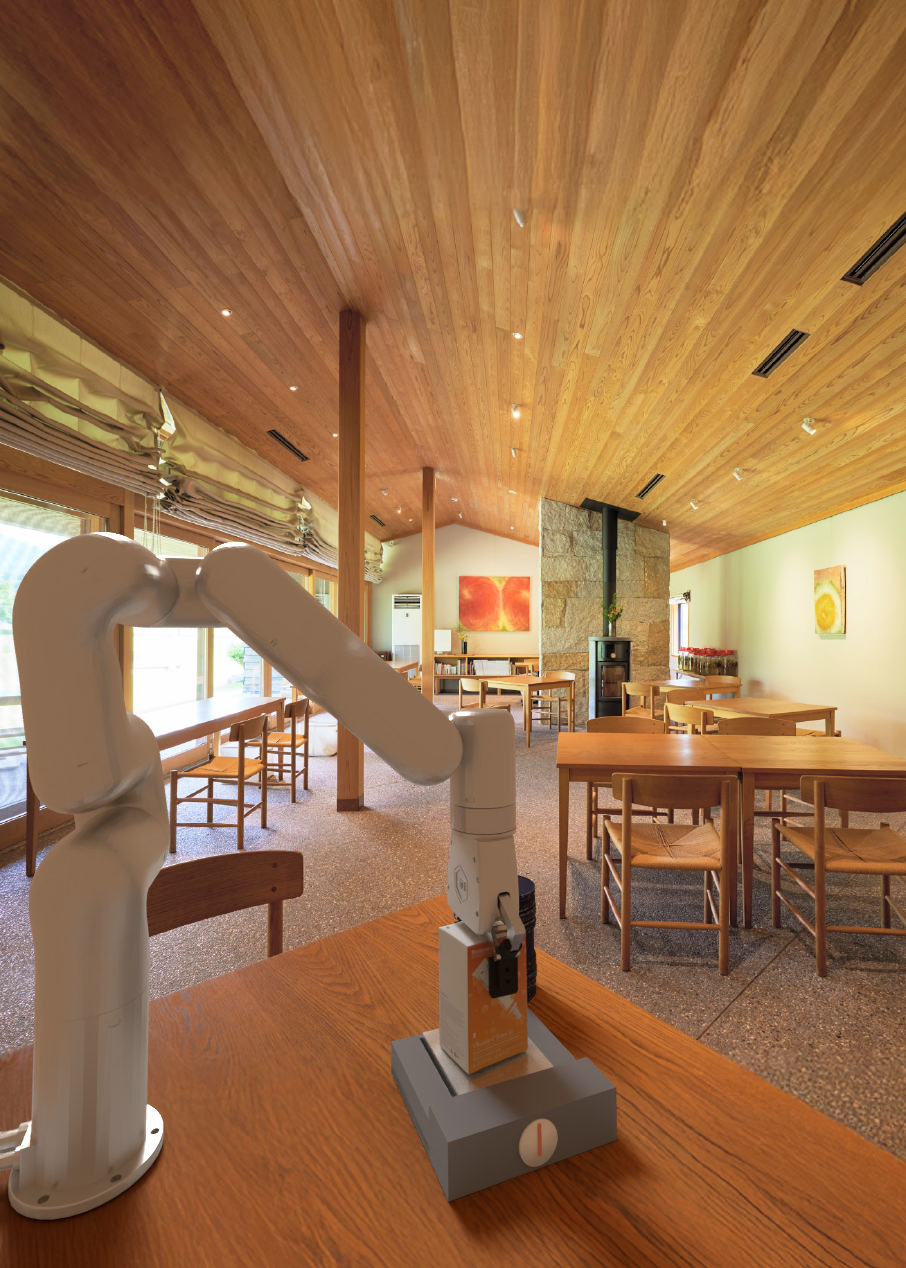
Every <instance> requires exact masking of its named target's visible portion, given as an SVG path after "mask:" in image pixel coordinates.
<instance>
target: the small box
mask: <svg viewBox="0 0 906 1268" xmlns="http://www.w3.org/2000/svg"><path fill="white" fill-rule="evenodd" d="M502 924H504V923H502V922H501V921H496V922H494V924H493V926H497V925H502ZM437 930H438V1011H439V1012H438V1013H439V1014H438V1017H439V1018H438V1023H439V1025H438V1029H439V1035H440V1046H441V1047H442V1048H443V1049H444V1050H445V1051H446V1052H447V1053H448V1054H449V1055H450V1056H451V1057H452V1058H453V1059H454V1061H455V1062H456V1063H457V1064H458V1065H459V1066H460V1067H462V1068H463V1069H464V1070H465V1071H466V1072H467V1073H468V1074H471V1073H473V1072H475V1071H478V1070H480V1069H482V1068H484V1067H487V1066H489V1065H492V1064H494V1063H496V1062H499V1061H501V1060H504V1059H506V1058H509V1057H511V1056H513V1055H516V1054H518V1053H521V1052H525V1051H527V1050H528V1026H527V1007H528V1004H527V971H526V930H525V934H524V937H523V941H522V948H521V950H520V956H519V957H518V991H517V993H515V994H511V995H507V996H503V997H499V998H494V999H493V998H491V996H490V995H489V970H488V957H492V954H491V950H490V946H489V942H488V938H487V934H486V933H485V934H484V935H478V934H476V933H475V932H473V931H472V930H471V929H470V928H469V927H468V926H467V925H466V924H465V923H464V922H463V921H460V922H458V923H454V922H453V923H451V924H450V923H449V924H447V925H444V926H439V927H438V929H437ZM496 937H497V941H498V945H500V943H501V942H502V941H503V939H506V938H507V936H506V932H505V933H500V934H496Z"/></svg>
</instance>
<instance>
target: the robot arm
mask: <svg viewBox="0 0 906 1268" xmlns="http://www.w3.org/2000/svg"><path fill="white" fill-rule="evenodd" d="M11 617H12V619H11V624H12V640H13V647H14V654H15V658H16V659H15V660H16V666H17V667H16V668H17V672H18V681H19V689H20V692H19V693H20V706H21V714H22V722H23V731H24V739H25V740H24V741H25V747H26V755H27V764H28V765H27V767H28V775H29V780H30V784H31V787H32V790H33V793H34V795H35V796H36V798H37V799H38V801H39V802H40V803H41V804H43V805H44V806H45V807H46V808H47V809H49V810H50V811H53V812H56V813H57V814H63V815H73V819H74V825H75V829H74V830H72V831H71V832H69V833H68V834H66V835H65V836H64V837H63V838H61V839H60V840H58V842H56V844H55V845H53V846H52V847H51V848H50V849H49V851H47V853H46V854H45V855H44V857H43V859H42V860H41V862H39V864H38V866H37V868H36V869H35V872H34V875H33V877H32V880H31V883H30V887H29V892H28V915H29V916H28V917H29V924H30V930H31V936H32V942H33V954H34V1002H33V1003H34V1006H33V1007H34V1020H33V1021H34V1023H33V1052H32V1053H33V1057H32V1087H31V1092H32V1093H31V1118H30V1120H28V1121H26V1122H25V1121H24V1122H21V1123H20V1124H19V1126H18V1127H17V1128H14V1129H9V1130H6V1131H0V1172H2V1171H7V1170H10V1169H11V1171H10V1173H9V1179H8V1185H7V1187H8V1190H7V1192H8V1201H9V1202H10V1206H11V1207H12V1208H13V1209H14V1210H15V1211H16V1212H17V1213H18V1214H20V1215H21V1216H25V1217H26V1218H30V1219H36V1220H56V1219H57V1220H59V1219H62V1218H69V1217H73V1216H76V1215H80V1214H82V1213H85V1212H88V1211H91V1210H93V1209H95V1208H97V1207H100V1206H102V1205H104V1204H105V1203H107V1202H109V1201H111V1200H113V1199H114V1198H117V1196H119V1195H121V1194H122V1193H123V1192H124V1191H126V1190H128V1189H130V1188H131V1186H132V1185H134V1184H135V1183H136V1182H137V1181H138V1180H139V1179H140V1178H142V1176H144V1175H145V1174H146V1173H147V1171H148V1170H149V1168H151V1167H152V1166H153V1163H154V1162H155V1160H156V1159H157V1158H158V1156H159V1155H160V1151H161V1150H162V1146H163V1144H164V1138H165V1137H164V1136H165V1135H164V1134H165V1131H164V1130H165V1124H164V1120H163V1116H162V1115H161V1113H160V1112H159V1111H158V1110H157V1109H155V1108H154V1107H153V1106H151V1105H150V1104H148V1081H149V1080H148V1077H149V1076H148V1075H149V1033H150V1032H149V1025H150V1021H149V1020H150V968H151V967H150V965H151V963H150V960H151V957H150V955H151V954H150V949H151V948H150V935H149V926H148V925H149V924H148V917H147V899H148V897H147V896H148V892H149V888H150V887H151V885H152V884H153V883H154V881H155V879H156V877H157V876H158V874H159V873H160V872H161V870H162V868H163V867H164V865H165V863H166V861H167V858H168V856H169V852H170V848H171V827H170V817H169V810H168V802H167V797H166V795H167V794H166V787H165V781H164V771H163V765H162V758H161V753H160V752H161V751H160V747H159V744H158V740H157V738H156V736H155V733H154V731H153V729H152V728H151V727H150V726H149V724H147V722H146V721H144V720H143V718H141V717H140V716H137V715H136V714H134V713H132V712H129V711H127V708H126V704H125V703H126V701H125V697H124V696H125V695H124V690H123V689H124V688H123V687H124V686H123V675H122V669H121V665H120V660H119V657H118V654H117V650H116V646H115V643H114V642H115V641H114V632H115V627H116V625H117V624H119V625H122V626H126V627H133V628H146V629H147V628H148V629H149V628H150V629H151V628H153V629H155V628H158V629H159V628H161V629H163V628H165V629H166V628H167V629H168V628H172V629H173V628H175V629H179V628H180V629H182V628H183V629H187V628H188V629H220V628H221V629H222V628H223V629H228V630H229V631H230V632H232V633H233V634H234V635H235V636H236V637H237V638H238V639H240V641H243V643H245V644H246V645H247V646H248V647H249V648H250V649H251V650H252V651H253V652H255V653H256V654H257V655H258V656H259V657H260V658H262V660H264V661H265V662H266V663H267V664H269V665H270V666H271V667H272V668H273V669H274V670H276V672H278V674H280V675H281V676H282V677H283V678H284V679H285V680H287V682H289V683H290V684H291V685H292V686H294V688H296V689H297V691H299V692H300V693H301V695H303V696H304V697H306V698H307V699H308V700H309V701H311V702H312V703H314V704H315V705H318V707H320V708H322V709H323V710H324V711H325V712H327V713H328V714H329V715H331V716H332V717H333V718H334V719H336V720H337V721H338V722H339V723H340V724H341V725H342V726H343V727H344V728H345V729H347V730H348V731H349V732H350V733H351V734H352V735H354V736H355V737H356V739H358V740H359V741H361V743H363V744H364V745H365V746H366V747H367V748H368V749H370V751H372V752H373V753H374V754H375V755H377V757H378V758H379V759H381V760H382V761H383V762H384V763H385V764H387V766H389V767H390V768H391V769H392V770H393V771H394V772H396V773H397V775H399V776H400V777H401V778H402V779H404V780H405V781H407V782H408V783H410V784H412V785H416V786H419V787H433V786H438V785H440V784H442V783H444V782H447V780H449V825H450V826H449V828H450V830H449V832H450V837H449V839H450V840H449V846H448V847H449V849H448V862H447V865H448V866H447V888H446V889H447V891H446V892H447V893H446V895H447V899H446V900H447V904H448V906H449V909H451V911H452V915H453V919H454V922H453V924H454V923H458V922H460V921H463V922H464V923H465V924H466V925H467V926H468V927H469V928H470V929H471V930H472V931H473V932H475V933H476V934H478V935H484V934H485V933H486V934H487V938H488V942H489V946H490V950H491V954H492V957H488V970H489V995H490V996H491V998H493V999H494V998H499V997H503V996H507V995H511V994H515V993H517V991H518V957H519V956H520V950H521V948H522V941H523V937H524V934H525V927H524V925H523V923H522V921H521V919H520V917H519V889H518V875H519V873H518V863H517V853H516V844H515V837H514V835H515V834H516V833H517V789H516V787H517V786H516V785H517V784H516V783H517V781H516V779H517V778H516V772H517V771H516V726H515V725H516V724H515V718H514V716H513V714H512V713H511V712H509V711H508V710H506V709H502V708H494V707H493V708H490V707H473V708H471V707H470V708H464V709H459V710H445V709H443V710H442V709H439V707H438V706H436V705H435V704H434V703H433V702H432V701H431V700H430V699H428V698H427V696H425V695H424V694H423V693H422V692H421V691H420V690H419V689H417V687H415V686H414V685H413V684H412V683H410V681H408V680H407V679H406V678H405V677H404V676H403V675H402V674H400V673H399V672H398V671H397V670H395V669H394V667H393V666H392V665H390V664H389V663H388V662H386V661H385V660H384V659H383V658H381V656H380V655H378V654H377V653H376V652H375V651H374V650H373V649H372V648H371V647H370V646H369V645H368V644H367V643H366V642H365V641H364V640H363V639H361V638H360V637H359V636H358V635H357V634H356V633H355V632H354V631H353V630H351V629H350V628H349V626H347V625H346V624H345V623H344V622H342V620H340V619H339V618H338V617H337V616H335V614H333V613H332V612H331V611H330V610H329V609H328V608H327V607H326V606H324V605H323V604H322V602H320V601H319V600H318V599H317V598H316V597H314V596H313V595H312V593H310V592H309V591H308V590H307V589H306V588H304V586H302V585H301V584H300V583H299V582H298V581H297V580H296V579H295V578H293V577H292V575H290V573H288V572H287V571H286V570H285V569H284V568H283V567H282V566H281V565H279V564H278V563H277V562H276V561H275V560H274V559H273V558H272V557H270V556H269V555H268V554H267V553H265V552H264V551H263V550H261V549H260V548H258V547H256V546H254V545H252V544H249V543H246V542H241V541H232V542H227V543H223V544H220V545H218V546H217V547H215V548H213V549H211V550H210V551H209V552H208V553H207V554H205V556H203V557H194V556H193V557H190V556H173V555H171V556H170V555H156V554H155V553H154V552H152V551H151V550H149V549H148V548H146V547H145V546H144V545H142V544H141V543H140V542H137V541H136V540H133V539H131V538H129V537H127V536H124V535H122V534H118V533H117V534H116V533H113V532H99V531H97V532H96V531H95V532H88V533H83V534H78V535H76V536H73V537H69V538H68V539H66V540H63V541H61V542H59V543H58V544H56V545H55V546H53V547H51V548H50V549H48V550H47V551H46V552H45V553H43V554H42V555H41V556H40V557H39V558H37V560H36V561H35V562H34V563H32V565H31V566H30V568H29V569H28V570H27V571H26V573H25V575H24V576H23V577H22V579H21V581H20V583H19V585H18V588H17V590H16V593H15V597H14V601H13V605H12V616H11ZM496 921H501V922H502V923H504V924H502V925H497V926H493V924H494V922H496ZM505 932H506V936H507V938H506V939H503V941H502V942H501V943H500V945H498V941H497V937H496V934H500V933H505Z"/></svg>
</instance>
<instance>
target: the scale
mask: <svg viewBox="0 0 906 1268" xmlns="http://www.w3.org/2000/svg"><path fill="white" fill-rule="evenodd" d="M527 1026H528V1037H529V1038H530V1039H531V1040H532V1042H533V1043H534V1044H535V1045H536V1046H537V1047H538V1049H539V1050H540V1051H541V1052H542V1053H543V1054H544V1056H545V1057H546V1058H547V1059H548V1060H549V1061H550V1063H551V1064H552V1065H553V1066H554V1067H551V1068H548V1069H545V1070H541V1071H538V1072H535V1073H531V1074H528V1075H524V1076H521V1077H518V1078H514V1079H511V1080H508V1081H504V1082H501V1083H498V1084H494V1085H491V1086H488V1087H484V1088H481V1089H477V1090H474V1091H471V1092H467V1093H464V1094H461V1095H457V1096H454V1097H452V1096H451V1094H450V1092H449V1091H448V1089H447V1087H446V1085H445V1083H444V1082H443V1080H442V1078H441V1076H440V1074H439V1073H438V1071H437V1069H436V1067H435V1065H434V1064H433V1062H432V1060H431V1058H430V1056H429V1055H428V1053H427V1051H426V1049H425V1048H424V1046H423V1033H420V1034H416V1035H412V1036H407V1037H404V1038H400V1039H396V1040H392V1041H391V1042H390V1044H391V1045H390V1052H391V1056H390V1057H391V1058H390V1059H391V1060H390V1061H391V1062H390V1065H391V1067H390V1068H391V1070H390V1072H391V1073H390V1074H392V1078H393V1080H394V1082H395V1084H396V1087H397V1089H398V1091H399V1093H400V1096H401V1097H402V1099H403V1100H402V1101H403V1104H404V1105H405V1107H406V1109H407V1111H408V1114H409V1116H410V1119H411V1120H412V1123H413V1125H414V1127H415V1131H416V1132H417V1135H418V1136H419V1138H420V1140H421V1144H422V1146H423V1148H424V1150H425V1152H426V1154H427V1157H428V1159H429V1161H430V1164H431V1166H432V1168H433V1171H434V1172H435V1175H436V1177H437V1180H438V1182H439V1184H440V1186H441V1189H442V1190H443V1194H444V1195H445V1198H446V1200H447V1202H448V1203H449V1202H452V1201H454V1200H455V1201H456V1200H457V1199H460V1198H462V1197H465V1196H467V1195H468V1196H469V1195H471V1194H473V1193H474V1194H475V1193H476V1192H480V1191H482V1190H484V1189H487V1188H490V1187H493V1186H495V1185H498V1184H501V1183H504V1182H507V1181H508V1180H512V1179H514V1178H517V1177H520V1176H523V1175H525V1174H528V1173H531V1172H534V1171H536V1170H539V1169H542V1168H545V1167H547V1166H550V1165H553V1164H555V1163H559V1162H560V1161H564V1160H566V1159H569V1158H572V1157H574V1156H577V1155H579V1154H580V1155H581V1154H582V1153H585V1152H588V1151H591V1150H593V1149H597V1148H598V1147H601V1146H605V1145H607V1144H610V1143H612V1142H615V1141H617V1140H618V1114H617V1113H618V1109H617V1108H618V1107H617V1106H618V1104H617V1086H616V1085H614V1084H613V1082H612V1081H611V1080H610V1079H609V1078H608V1077H607V1076H606V1075H605V1074H604V1073H603V1072H602V1071H601V1070H600V1069H599V1068H598V1067H597V1066H596V1064H594V1062H593V1061H592V1060H590V1059H589V1057H588V1056H586V1057H582V1058H579V1059H576V1058H575V1056H574V1055H573V1054H572V1053H571V1052H570V1051H569V1050H568V1049H567V1048H566V1047H565V1045H564V1044H563V1043H562V1042H561V1041H560V1040H559V1039H558V1038H557V1037H556V1036H555V1035H554V1034H553V1033H552V1032H551V1031H550V1029H548V1027H547V1026H546V1025H545V1024H544V1023H543V1022H542V1021H541V1020H540V1018H538V1017H537V1016H536V1014H535V1013H533V1011H532V1010H531V1009H530V1008H529V1007H528V1006H527Z"/></svg>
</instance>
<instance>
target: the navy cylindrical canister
mask: <svg viewBox="0 0 906 1268" xmlns="http://www.w3.org/2000/svg"><path fill="white" fill-rule="evenodd" d="M518 889H519V917H520V919H521V921H522V923H523V925H524V927H525V930H526V971H527V1003H528V1004H529V1003H530V1001H531V1000H532V999H533V998H534V997H535V998H536V996H535V995H537V993H536V990H538V989H537V984H536V983H537V976H538V964H537V952H536V951H537V950H536V948H535V928H536V923H537V916H536V914H537V903H536V894H535V893H536V884H535V882H534V881H533V880H532V879H530V878H528V877H526V876H524V875H523V876H522V875H519V874H518ZM535 998H534V999H535ZM534 999H533V1000H534ZM533 1000H532V1001H533ZM532 1001H531V1002H532Z"/></svg>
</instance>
